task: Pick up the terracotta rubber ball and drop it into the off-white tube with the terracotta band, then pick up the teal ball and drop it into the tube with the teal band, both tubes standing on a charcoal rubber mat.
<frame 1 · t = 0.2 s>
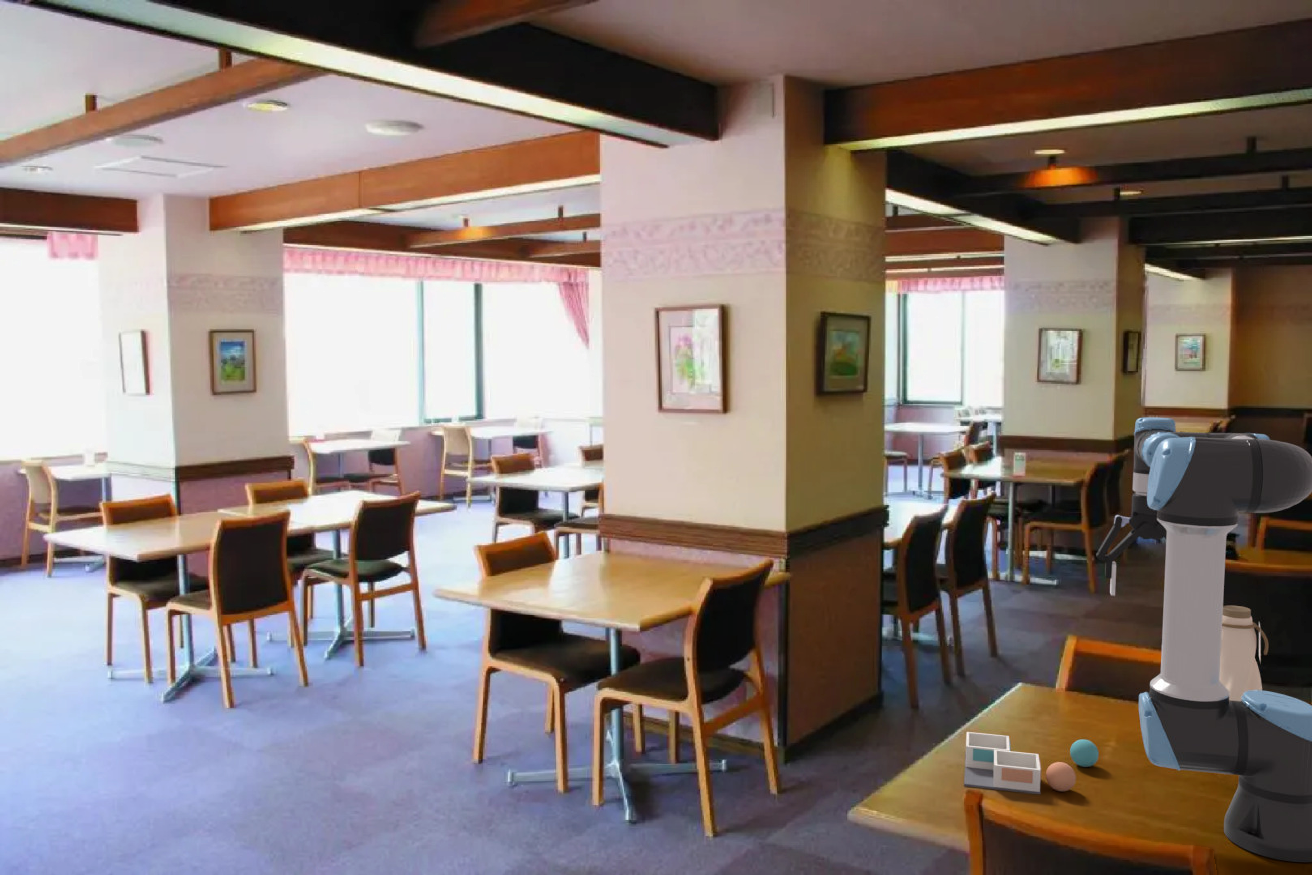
hand: (1148, 596, 222), 28 cm above the table, fingers open, 13 cm apart
mat: (1001, 772, 202), on the table
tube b: (987, 763, 206), resting on mat
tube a: (1015, 782, 197), resting on mat
ball terracotta: (1060, 776, 194), point 2 cm above the table
water bottle: (1233, 748, 214), on the table
ball teal: (1084, 752, 205), point 2 cm above the table
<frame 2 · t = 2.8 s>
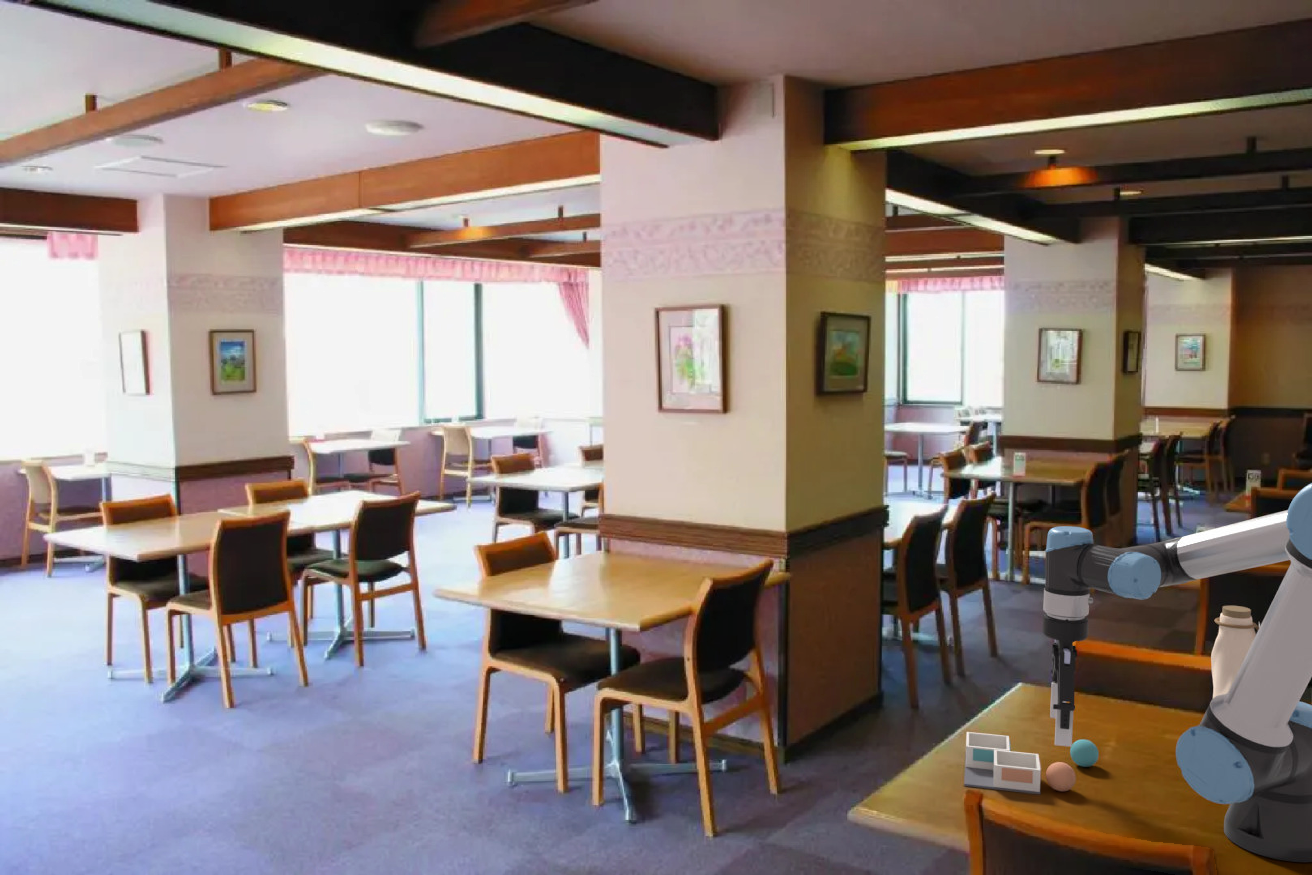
hand: (1060, 731, 193), 11 cm above the table, fingers open, 13 cm apart
nothing on the table moved.
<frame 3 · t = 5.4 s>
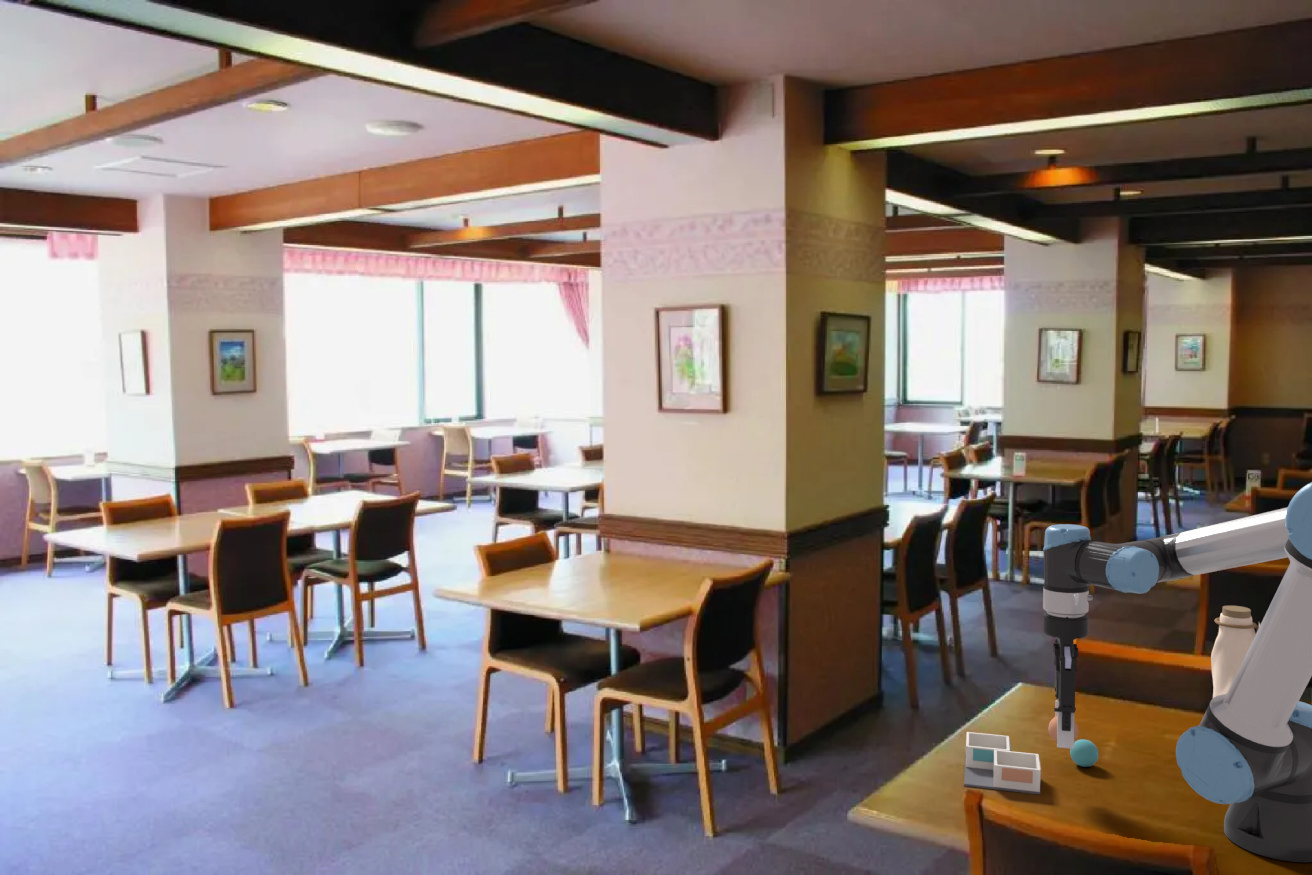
hand: (1064, 741, 193), 9 cm above the table, fingers closed on ball terracotta, 5 cm apart
ball terracotta: (1063, 729, 193), point 11 cm above the table, touching gripper
everything else where it was.
when the fingers open (6 cm above the table, at t = 7.3 s): ball terracotta drops 5 cm, resting on mat.
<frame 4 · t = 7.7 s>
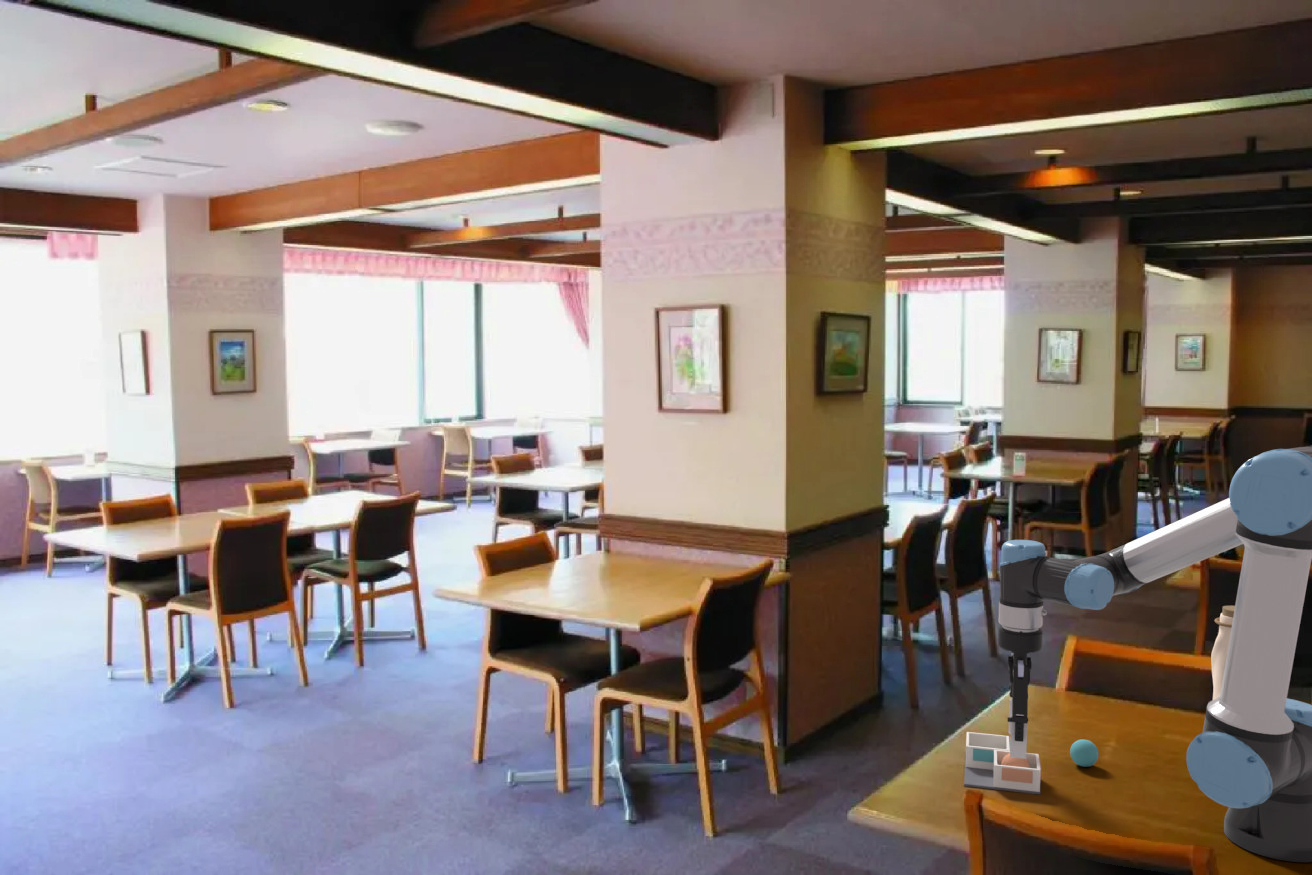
hand: (1017, 745, 196), 7 cm above the table, fingers open, 11 cm apart
ball terracotta: (1015, 767, 197), point 3 cm above the table, touching mat
everything else where it was.
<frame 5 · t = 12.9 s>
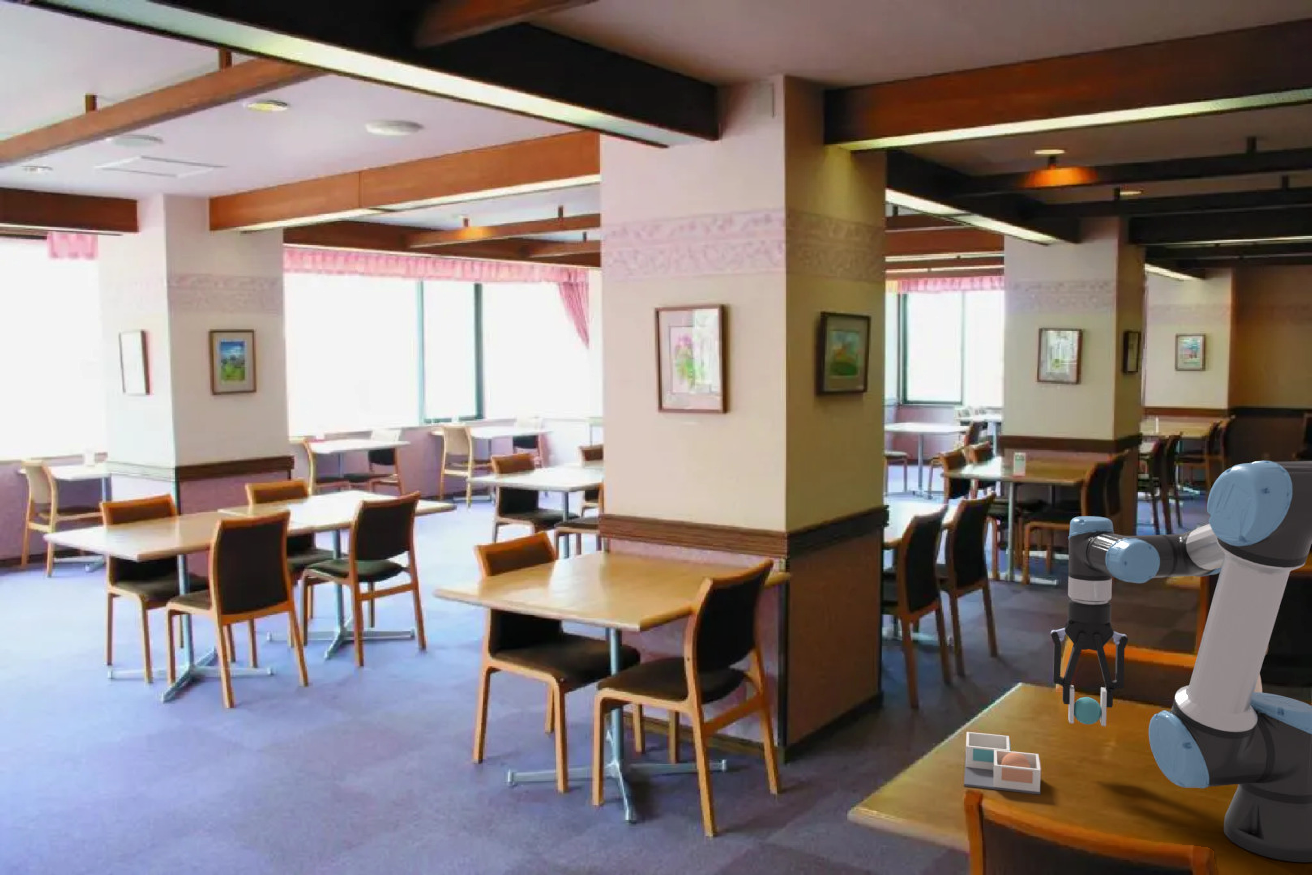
hand: (1087, 721, 204), 9 cm above the table, fingers closed on ball teal, 5 cm apart
ball teal: (1087, 710, 204), point 11 cm above the table, touching gripper
everything else where it was.
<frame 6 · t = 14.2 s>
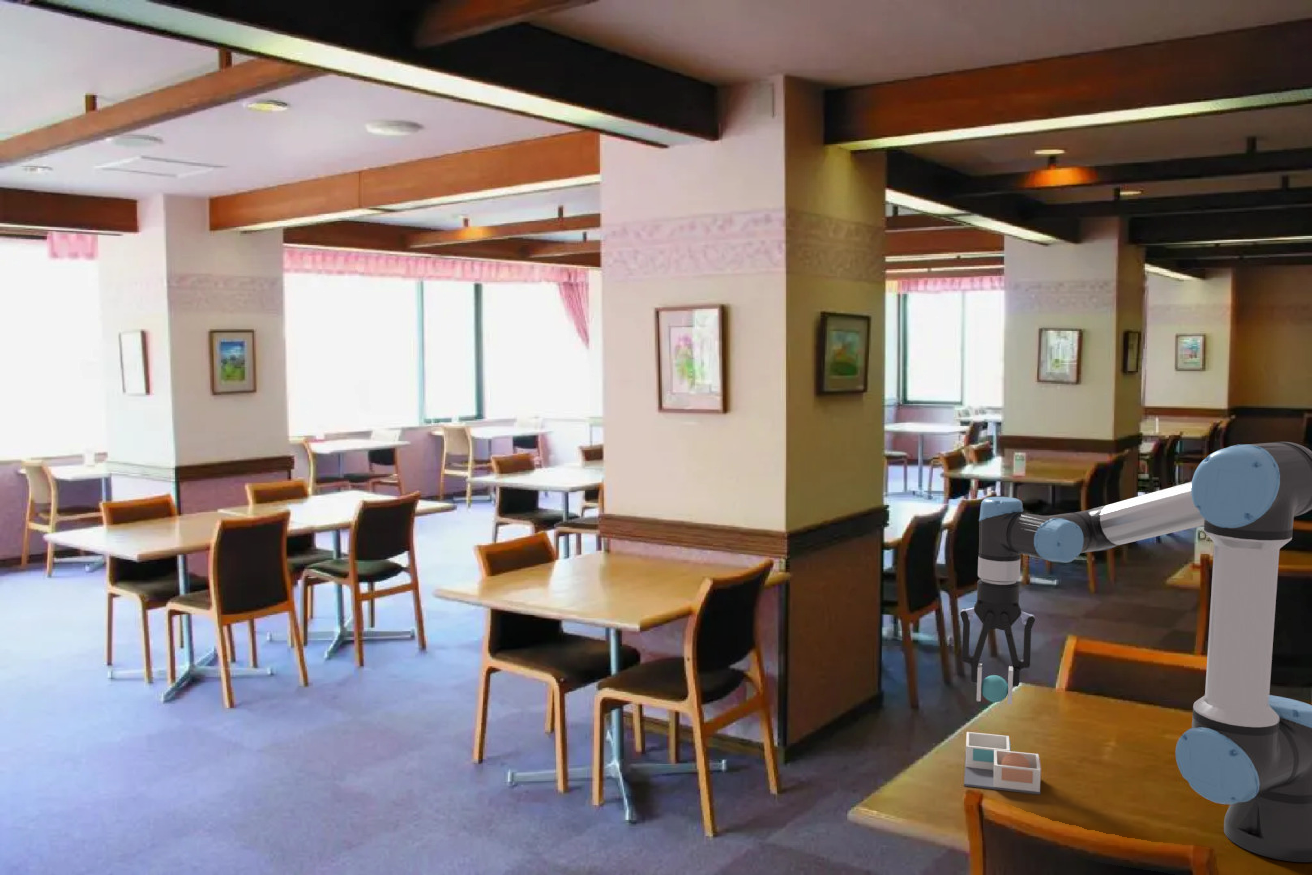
hand: (994, 700, 205), 12 cm above the table, fingers closed on ball teal, 5 cm apart
ball teal: (994, 688, 205), point 14 cm above the table, touching gripper
everything else where it was.
when the fingers open (6 cm above the table, at t = 15.5 s): ball teal drops 5 cm, resting on mat.
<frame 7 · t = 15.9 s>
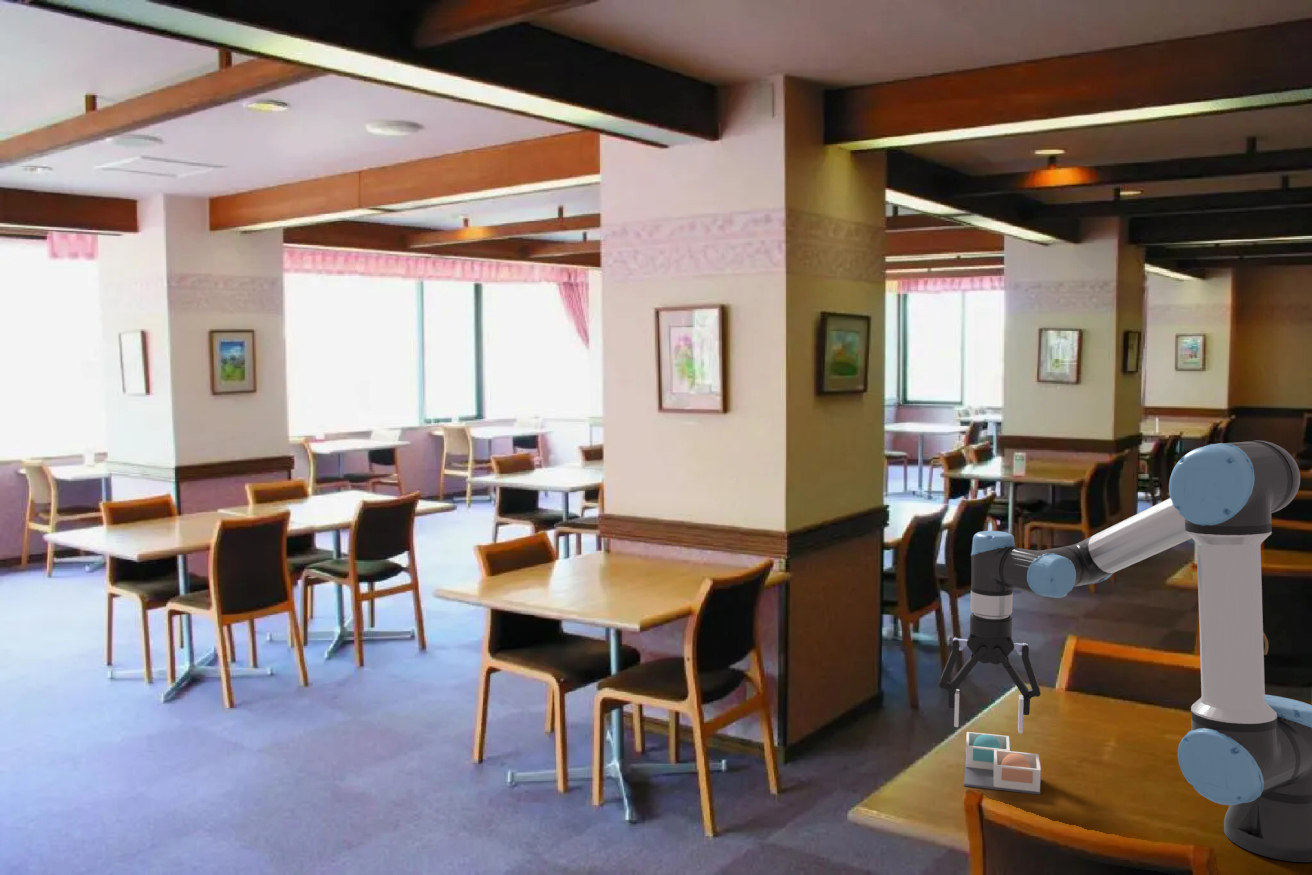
hand: (988, 727, 205), 7 cm above the table, fingers open, 11 cm apart
ball teal: (986, 747, 206), point 3 cm above the table, touching mat
everything else where it was.
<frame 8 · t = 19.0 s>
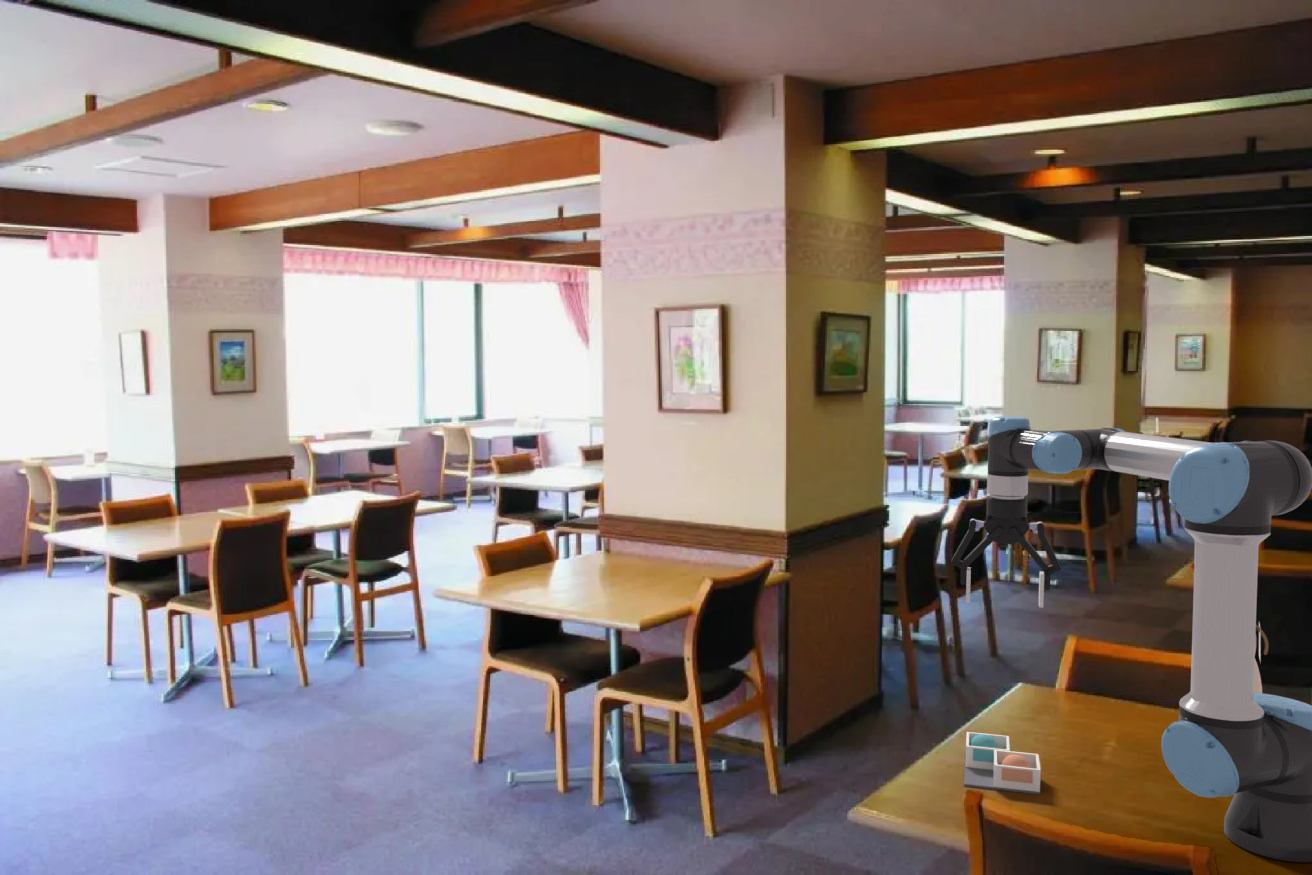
hand: (1004, 603, 212), 29 cm above the table, fingers open, 13 cm apart
ball terracotta: (1015, 768, 196), point 3 cm above the table, tilted 14°, touching mat
ball teal: (983, 747, 206), point 3 cm above the table, tilted 19°, touching mat
everything else where it was.
at the end: ball terracotta 0.7 cm off-centre on the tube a, point 2.9 cm above the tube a's base; ball teal 0.9 cm off-centre on the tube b, point 2.9 cm above the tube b's base; the gripper is holding nothing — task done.
